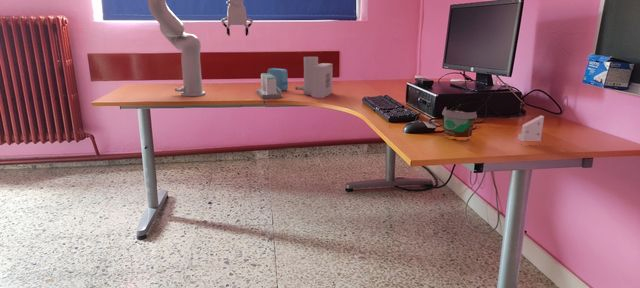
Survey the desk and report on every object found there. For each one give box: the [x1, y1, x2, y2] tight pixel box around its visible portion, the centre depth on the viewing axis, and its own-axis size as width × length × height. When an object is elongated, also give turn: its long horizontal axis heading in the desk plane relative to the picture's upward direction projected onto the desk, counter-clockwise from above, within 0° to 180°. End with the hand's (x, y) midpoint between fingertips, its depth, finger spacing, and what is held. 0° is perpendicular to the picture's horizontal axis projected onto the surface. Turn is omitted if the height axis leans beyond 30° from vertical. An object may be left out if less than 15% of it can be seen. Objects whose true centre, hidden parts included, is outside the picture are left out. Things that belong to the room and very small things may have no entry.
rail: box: [256, 72, 282, 100], centre depth 233 cm, size 10×20×11 cm, turn 16°
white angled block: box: [517, 114, 545, 142], centre depth 144 cm, size 4×10×9 cm
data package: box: [267, 67, 289, 92], centre depth 250 cm, size 12×4×12 cm, turn 48°
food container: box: [441, 106, 478, 137], centre depth 151 cm, size 12×6×10 cm, turn 44°
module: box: [262, 75, 274, 93], centre depth 233 cm, size 5×8×8 cm, turn 16°
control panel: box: [295, 56, 334, 99], centre depth 234 cm, size 16×19×20 cm
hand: (237, 35), depth 242 cm, fingers open, 9 cm apart
